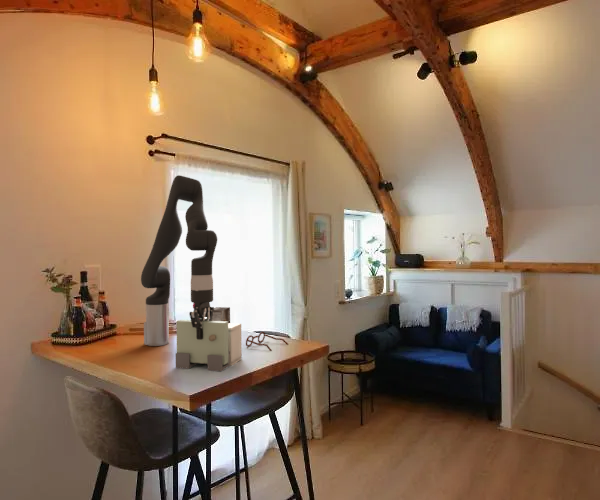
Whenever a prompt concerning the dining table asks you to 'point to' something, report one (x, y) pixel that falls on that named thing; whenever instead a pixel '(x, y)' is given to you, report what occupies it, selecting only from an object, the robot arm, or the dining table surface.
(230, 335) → the cabinet
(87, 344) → the dining table surface
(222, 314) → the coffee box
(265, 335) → the glasses
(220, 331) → the door
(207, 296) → the robot arm
